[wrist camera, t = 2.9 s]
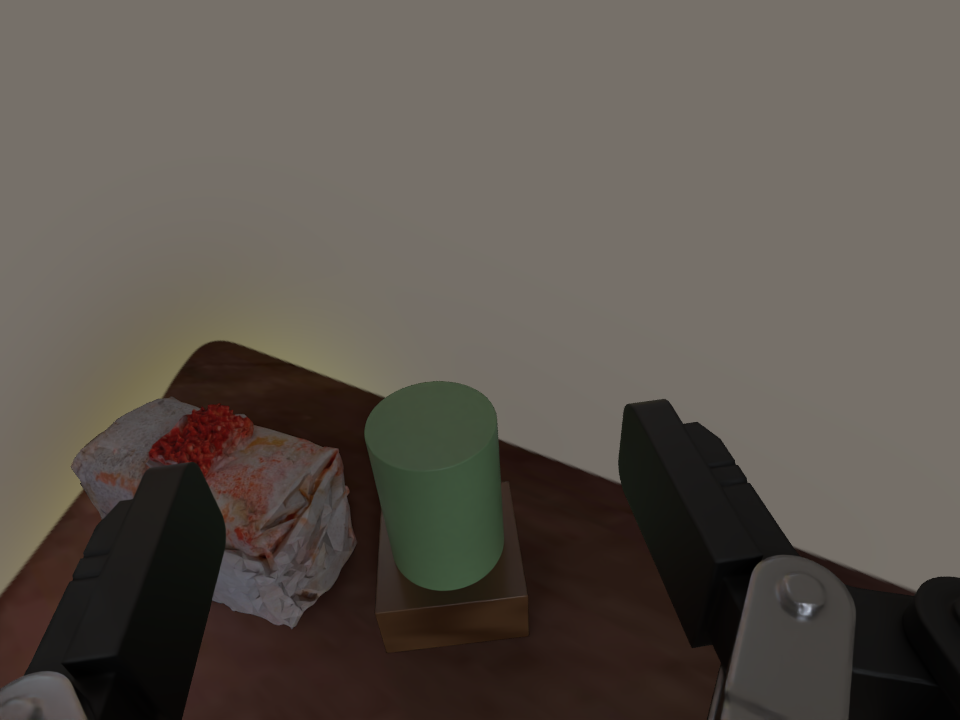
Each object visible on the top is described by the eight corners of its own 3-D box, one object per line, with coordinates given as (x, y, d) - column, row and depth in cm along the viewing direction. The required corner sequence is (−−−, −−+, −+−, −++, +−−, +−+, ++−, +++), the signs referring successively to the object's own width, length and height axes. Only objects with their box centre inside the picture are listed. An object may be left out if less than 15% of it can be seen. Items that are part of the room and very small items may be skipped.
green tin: (441, 482, 33) (424, 366, 28) (525, 528, 30) (522, 408, 26) (369, 553, 30) (336, 435, 25) (456, 613, 27) (438, 492, 22)
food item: (385, 535, 35) (354, 406, 29) (302, 663, 29) (242, 534, 23) (206, 476, 39) (148, 355, 34) (104, 576, 34) (13, 450, 28)
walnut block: (510, 522, 35) (508, 480, 33) (529, 636, 29) (528, 595, 27) (390, 535, 35) (381, 494, 33) (386, 653, 29) (374, 613, 27)
